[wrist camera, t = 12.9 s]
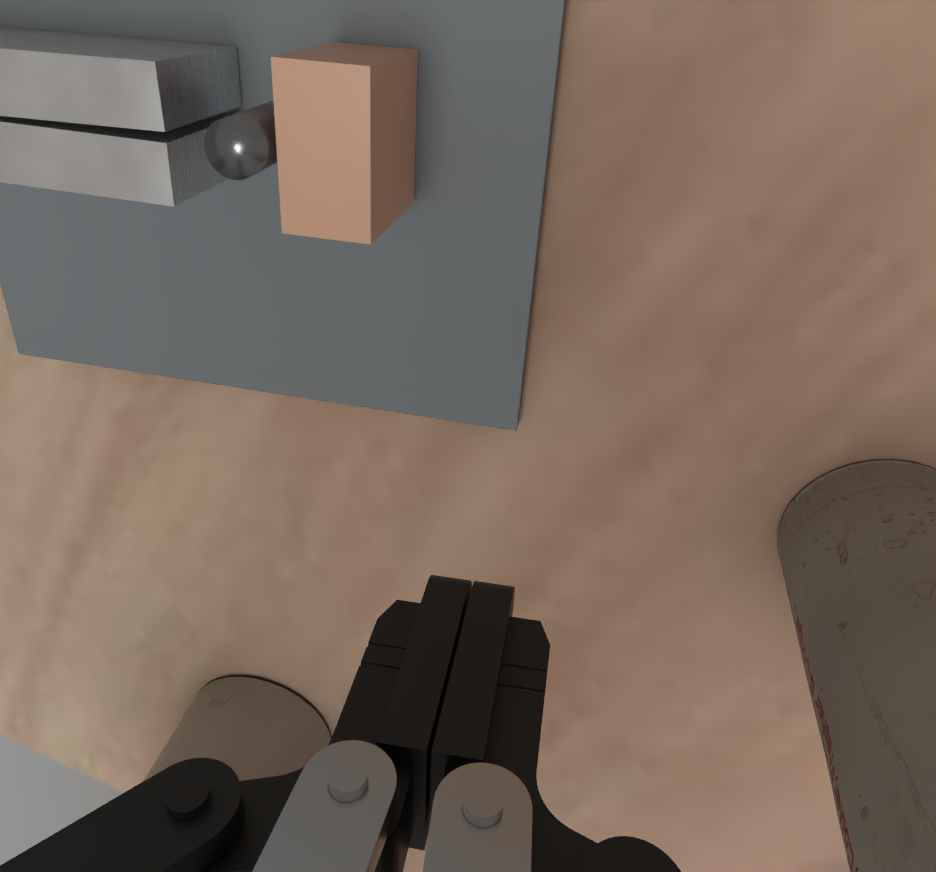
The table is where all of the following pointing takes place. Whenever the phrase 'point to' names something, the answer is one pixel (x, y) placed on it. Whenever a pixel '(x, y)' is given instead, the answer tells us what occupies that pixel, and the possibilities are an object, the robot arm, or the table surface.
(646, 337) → the table surface
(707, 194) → the table surface
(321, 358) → the slate board
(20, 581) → the table surface
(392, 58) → the block
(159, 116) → the jaw
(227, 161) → the post
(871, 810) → the thermos bottle
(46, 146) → the bar
